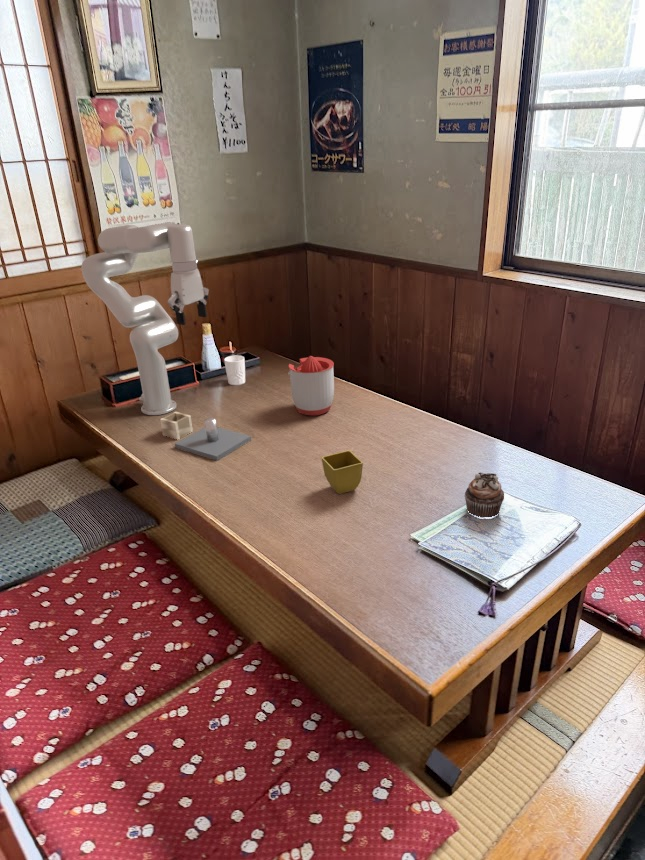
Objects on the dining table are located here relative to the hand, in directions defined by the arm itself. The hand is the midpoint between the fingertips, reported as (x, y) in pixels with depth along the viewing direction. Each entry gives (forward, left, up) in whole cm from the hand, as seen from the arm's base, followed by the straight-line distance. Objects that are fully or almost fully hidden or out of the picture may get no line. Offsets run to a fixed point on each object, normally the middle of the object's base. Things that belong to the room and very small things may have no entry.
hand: (192, 320), depth 203 cm
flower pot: (+65, -14, -36) cm, 76 cm away
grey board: (+14, -11, -36) cm, 40 cm away
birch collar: (-2, -11, -36) cm, 38 cm away
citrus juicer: (+26, +27, -36) cm, 52 cm away
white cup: (-16, +35, -36) cm, 53 cm away
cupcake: (+102, -6, -36) cm, 108 cm away
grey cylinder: (+14, -11, -35) cm, 39 cm away
